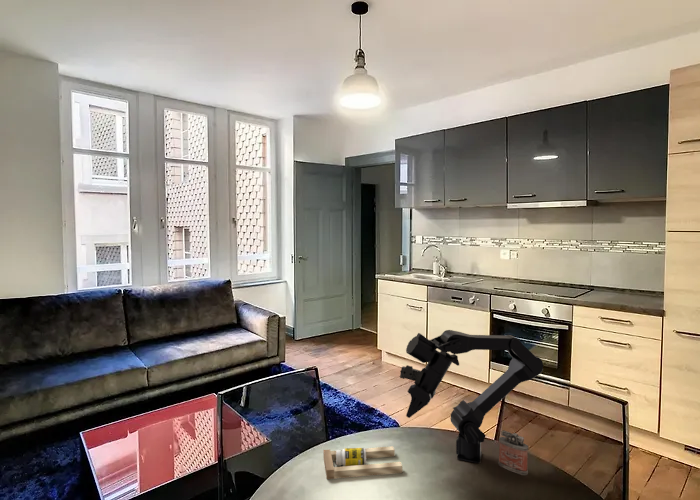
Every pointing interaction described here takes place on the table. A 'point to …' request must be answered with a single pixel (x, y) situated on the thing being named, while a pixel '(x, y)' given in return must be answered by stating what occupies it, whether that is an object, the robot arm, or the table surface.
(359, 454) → the supplement bottle
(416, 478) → the table surface
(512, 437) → the lighter
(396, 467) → the cradle
